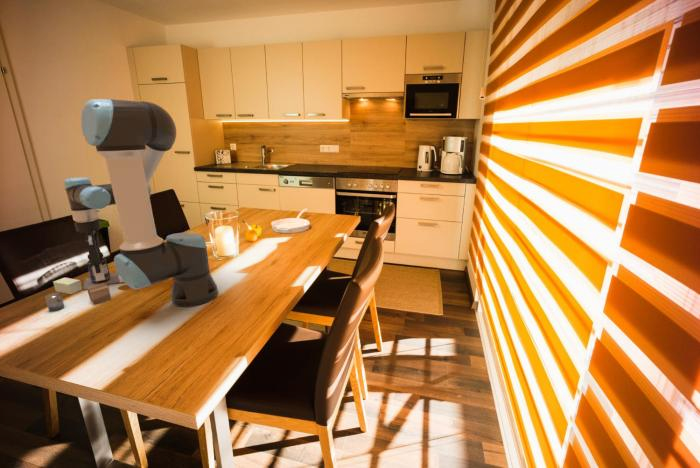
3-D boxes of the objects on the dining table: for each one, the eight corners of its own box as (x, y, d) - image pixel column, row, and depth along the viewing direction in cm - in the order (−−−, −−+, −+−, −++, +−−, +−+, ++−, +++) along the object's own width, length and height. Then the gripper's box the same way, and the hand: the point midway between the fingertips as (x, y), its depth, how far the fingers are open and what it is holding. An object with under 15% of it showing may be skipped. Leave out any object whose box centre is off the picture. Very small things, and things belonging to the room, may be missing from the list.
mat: (119, 283, 130) (118, 281, 130) (83, 290, 124) (83, 289, 124) (118, 273, 139) (118, 272, 139) (85, 280, 133) (85, 278, 133)
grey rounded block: (63, 309, 111) (60, 296, 110) (48, 313, 109) (43, 299, 108) (65, 304, 114) (61, 291, 113) (50, 308, 112) (45, 294, 111)
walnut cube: (111, 299, 118) (108, 287, 116) (94, 305, 114) (90, 292, 112) (107, 295, 121) (104, 282, 119) (90, 300, 117) (86, 287, 116)
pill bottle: (93, 279, 132) (86, 252, 129) (111, 276, 135) (105, 250, 132) (90, 285, 127) (83, 257, 124) (109, 281, 130) (103, 255, 127)
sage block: (82, 289, 125) (80, 280, 124) (71, 294, 122) (68, 284, 121) (67, 287, 128) (64, 277, 126) (55, 291, 124) (53, 281, 123)
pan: (262, 233, 192) (261, 224, 191) (289, 215, 232) (289, 207, 231) (303, 236, 188) (302, 226, 186) (323, 217, 228) (323, 209, 226)
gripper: (98, 224, 118) (112, 283, 125) (100, 213, 134) (112, 266, 141) (71, 227, 114) (87, 288, 121) (76, 216, 130) (90, 270, 137)
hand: (100, 276), depth 131 cm, fingers open, 6 cm apart
